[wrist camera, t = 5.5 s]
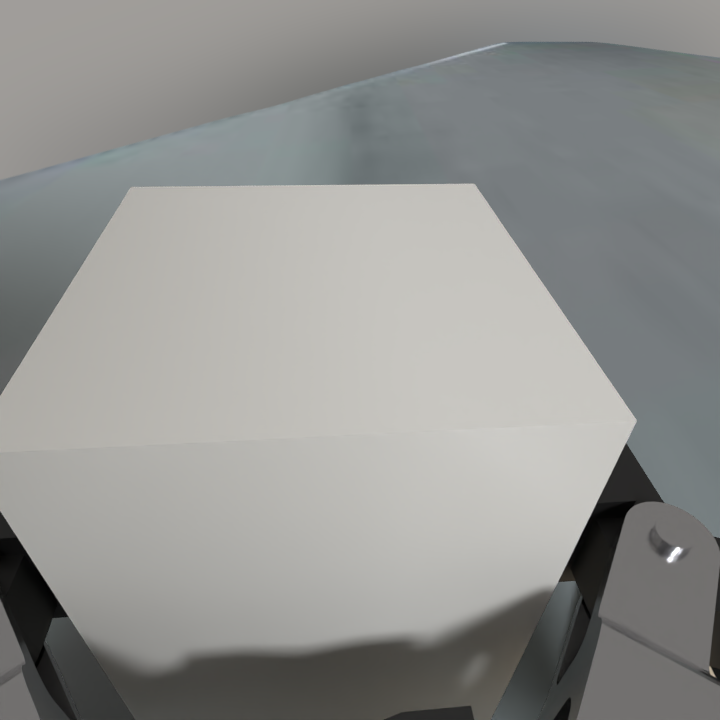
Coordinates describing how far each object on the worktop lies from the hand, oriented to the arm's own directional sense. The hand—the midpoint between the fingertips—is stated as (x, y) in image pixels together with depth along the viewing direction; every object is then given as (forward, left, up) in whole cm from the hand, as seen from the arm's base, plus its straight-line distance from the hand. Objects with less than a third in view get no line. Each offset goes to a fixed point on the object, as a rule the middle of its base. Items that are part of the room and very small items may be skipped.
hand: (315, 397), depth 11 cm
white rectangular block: (+1, -2, -6) cm, 6 cm away
